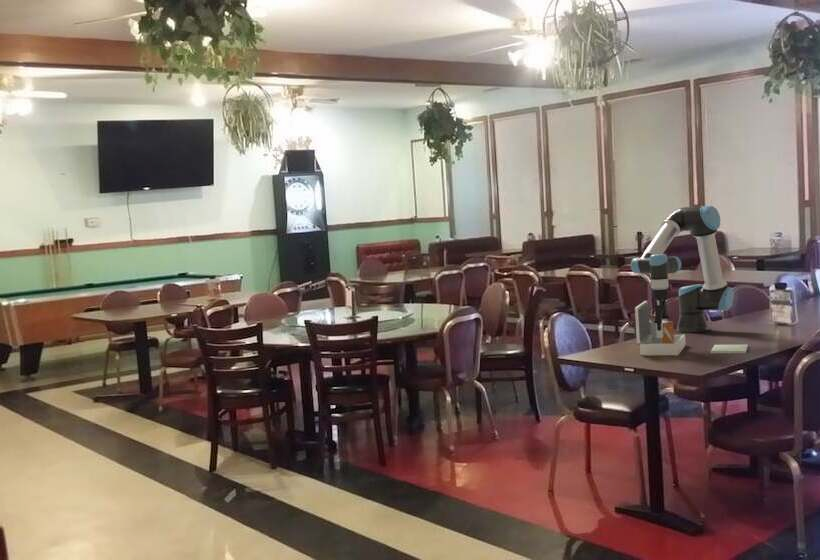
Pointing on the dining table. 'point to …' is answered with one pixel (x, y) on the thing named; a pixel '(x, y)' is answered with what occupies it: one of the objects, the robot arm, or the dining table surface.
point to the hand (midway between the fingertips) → (662, 335)
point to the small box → (667, 333)
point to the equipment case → (646, 339)
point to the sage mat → (729, 349)
